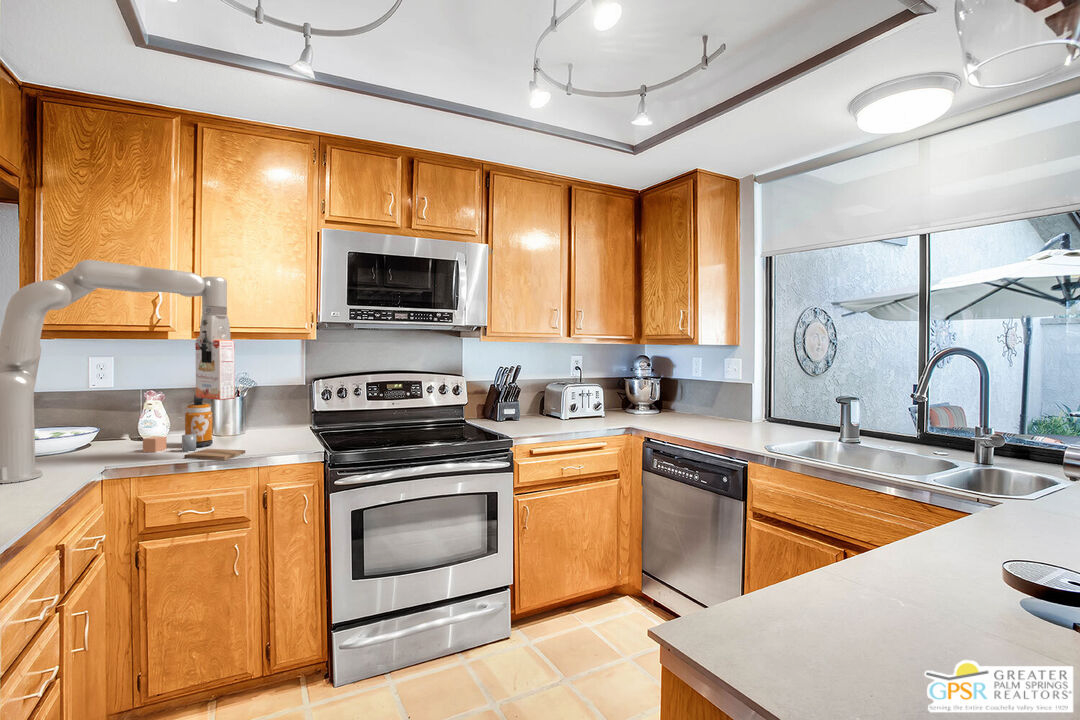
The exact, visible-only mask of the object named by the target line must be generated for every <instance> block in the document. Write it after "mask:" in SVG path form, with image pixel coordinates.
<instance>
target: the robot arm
mask: <svg viewBox="0 0 1080 720" xmlns="http://www.w3.org/2000/svg"><path fill="white" fill-rule="evenodd" d="M98 289H105V290H113V291H125V292H132V293H168V294H169V293H170V294H177V295H178V294H179V295H180V296H183V297H187V298H188V297H190V298H191V297H201V301H202V302H201V319H200V323H199V324H200V327H199V336H198V337H197V338H196V339H195V340H196V341H197V343H198V346H199V347H200V351H202V363H211V351H210V349H211V343H212V344H213V343H214V340H232V338H231V325H230V320H229V316H228V282H227V280H226V278H224V277H221V276H204V277H203V276H200V275H199V274H197V273H195V272H189V271H181V270H175V269H165V268H155V267H149V266H143V265H142V266H141V265H133V264H123V263H119V262H109V261H102V260H97V259H96V260H94V259H86V260H85V259H84V260H81V261H79V262H78V263H76V264H75V266H74V267H73V268H71V269H70V270H68V271H66V272H64V273H62V274H60V275H59V276H57V277H55V278H53V279H46V280H40V281H35V282H32V283H29V284H27V285H25V286H23V287H21V288H19V289H18V290H17V291H16V292H15V293H14V294H13V295H12V297H11V298H10V299H9V301H8V303H7V306H6V308H5V313H4V318H3V322H2V326H1V331H0V483H2V484H11V482H12V483H17V482H19V481H20V482H25V481H30V480H33V479H37V478H40V477H41V476H43V470H39V469H36V439H35V437H36V436H35V435H36V434H35V431H36V429H35V426H36V425H35V398H34V397H35V387H36V380H37V374H38V371H39V370H38V369H39V364H40V360H41V354H42V347H41V337H42V330H43V328H44V322H45V318H46V315H47V313H48V312H50V310H53V311H57V310H58V311H59V310H61V309H62V310H63V309H65V308H66V307H68V306H70V305H72V304H73V303H75V302H77V301H79V300H80V299H82V298H84V297H86V296H87V295H89V294H91V293H92V292H94V291H96V290H98ZM206 345H208V346H206ZM20 482H19V483H20Z"/></svg>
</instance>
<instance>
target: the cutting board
mask: <svg viewBox="0 0 1080 720" xmlns="http://www.w3.org/2000/svg"><path fill="white" fill-rule="evenodd" d="M243 453H245V454H246V450H245V449H244V450H243V449H227V448H226V449H220V448H218V449H217V448H205V449H202V450H196V451H194V452H189V453H187V454H184V456H183V457H184V459H186V458H200V459H199V460H213V461H215V460H216V461H226V460H229V459H232V458H235V456H236V457H238V456H237V455H239V456H241V455H240V454H242V455H244V454H243Z"/></svg>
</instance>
